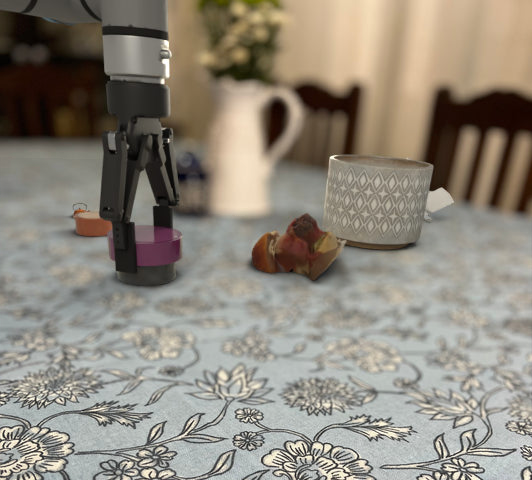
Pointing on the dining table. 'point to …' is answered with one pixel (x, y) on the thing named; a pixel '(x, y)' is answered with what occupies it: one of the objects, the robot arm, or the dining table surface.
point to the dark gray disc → (150, 275)
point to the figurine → (437, 201)
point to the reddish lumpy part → (297, 249)
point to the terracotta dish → (91, 224)
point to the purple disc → (153, 245)
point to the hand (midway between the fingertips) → (146, 261)
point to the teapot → (79, 210)
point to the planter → (376, 200)
